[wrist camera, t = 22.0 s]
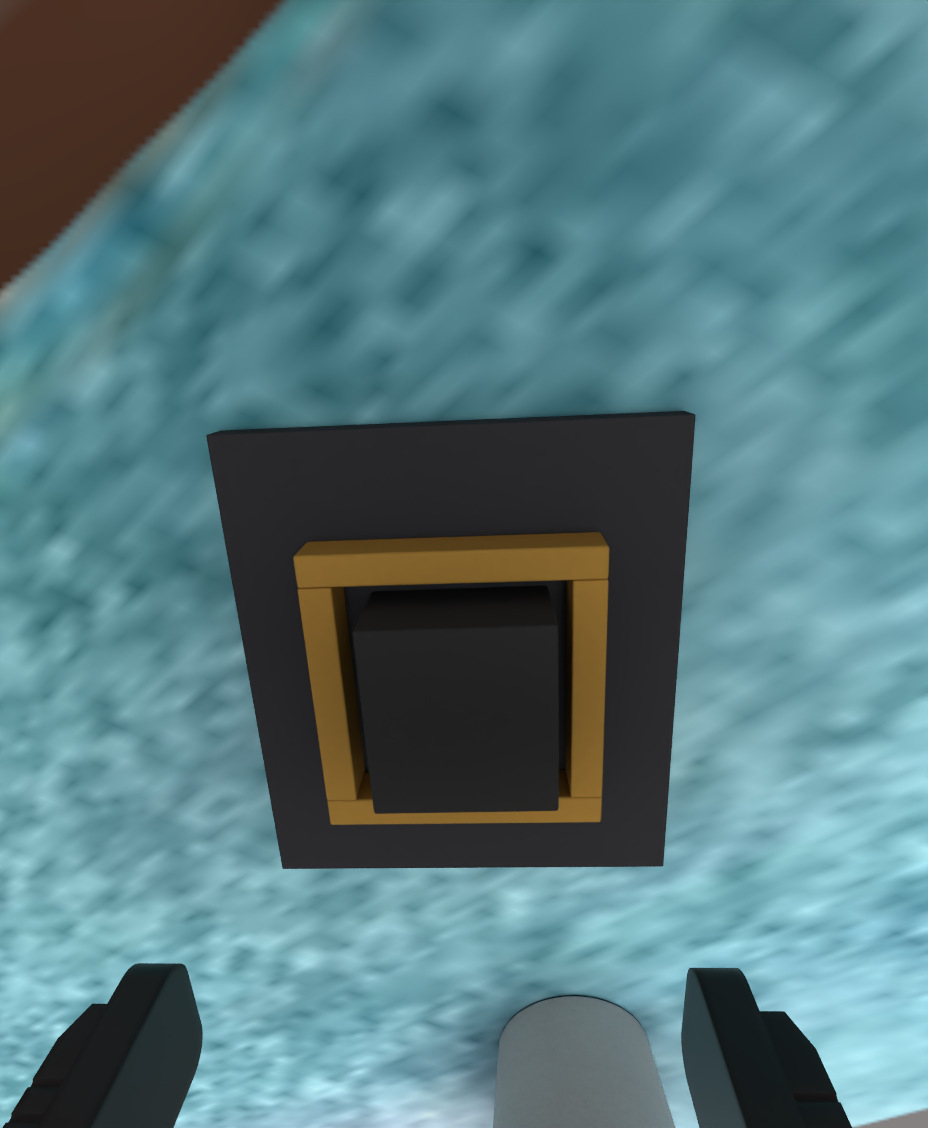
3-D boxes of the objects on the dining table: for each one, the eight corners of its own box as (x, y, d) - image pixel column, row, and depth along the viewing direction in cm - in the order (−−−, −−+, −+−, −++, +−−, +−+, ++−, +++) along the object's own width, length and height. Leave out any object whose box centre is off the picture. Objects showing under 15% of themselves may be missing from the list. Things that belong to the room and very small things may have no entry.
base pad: (219, 430, 19) (181, 442, 17) (685, 410, 18) (714, 420, 16) (290, 849, 24) (268, 902, 22) (656, 846, 24) (675, 901, 21)
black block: (371, 590, 20) (351, 632, 17) (548, 584, 19) (558, 625, 16) (388, 753, 22) (373, 815, 19) (549, 750, 21) (559, 812, 18)
